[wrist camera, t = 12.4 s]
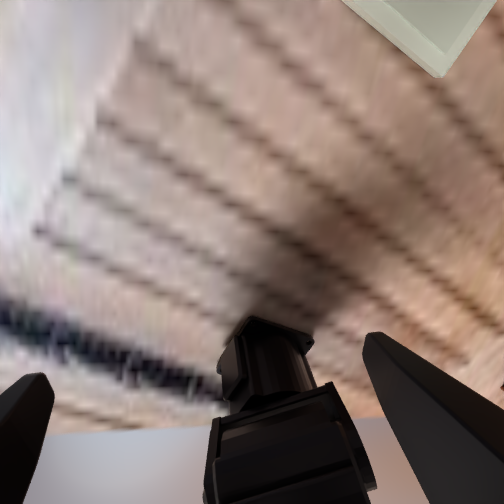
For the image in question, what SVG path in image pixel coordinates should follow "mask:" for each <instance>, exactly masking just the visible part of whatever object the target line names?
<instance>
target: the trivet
mask: <svg viewBox="0 0 504 504" xmlns="http://www.w3.org/2000/svg"><path fill="white" fill-rule="evenodd" d="M341 1H342V2H344V3H345V4H346V5H347V6H348V7H350V8H351V9H352V10H353V11H355V12H356V13H357V14H358V15H359V16H361V17H362V18H363V19H364V20H365V21H367V22H368V23H369V24H370V25H371V26H373V27H374V28H375V29H376V30H377V31H379V32H380V33H381V34H382V35H383V36H385V37H386V38H387V39H388V40H389V41H391V42H392V43H393V44H394V45H395V46H397V47H398V48H399V49H400V50H401V51H403V52H404V53H405V54H406V55H407V56H409V57H410V58H411V59H412V60H413V61H415V62H416V63H417V64H418V65H419V66H421V67H422V68H423V69H424V70H425V71H427V72H428V73H429V74H430V75H431V76H433V77H434V78H441V77H444V76H445V74H446V73H447V71H448V70H449V69H450V67H451V66H452V64H453V63H454V61H455V60H456V58H457V57H458V56H459V54H460V53H461V51H462V50H463V48H464V47H465V46H466V44H467V43H468V41H469V40H470V38H471V37H472V36H473V34H474V33H475V31H476V30H477V28H478V27H479V25H480V24H481V23H482V21H483V20H484V18H485V17H486V15H487V14H488V13H489V11H490V10H491V8H492V7H493V5H494V4H495V2H496V1H497V0H341Z"/></svg>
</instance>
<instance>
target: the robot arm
mask: <svg viewBox="0 0 504 504" xmlns="http://www.w3.org/2000/svg"><path fill="white" fill-rule="evenodd" d="M251 322H255V323H253V324H252V323H251ZM307 341H308V342H307ZM314 342H315V341H314V339H313V337H312V336H311V335H308V334H305V333H302V332H299V331H296V330H293V329H290V328H287V327H284V326H282V325H279V324H276V323H273V322H270V321H267V320H264V319H261V318H258V317H255V316H251V317H249V318H248V319H247V320H246V322H245V323H244V325H243V326H242V328H241V329H240V331H239V332H238V334H237V335H236V336H234V337H233V338H232V340H231V341H230V343H229V345H228V346H227V348H226V349H225V351H224V352H223V354H222V355H221V357H220V359H221V360H220V362H219V363H218V365H217V367H216V368H217V373H218V374H221V375H222V389H223V398H224V400H225V401H228V402H229V411H230V415H229V416H225V417H222V418H221V417H218V418H214V419H213V420H212V428H211V431H210V438H209V445H208V453H207V460H206V467H205V475H204V491H203V503H204V504H371V502H370V500H369V497H368V494H367V492H368V491H372V490H375V489H377V484H376V480H375V476H374V473H373V470H372V467H371V465H370V461H369V459H368V456H367V453H366V451H365V448H364V446H363V443H362V441H361V439H360V436H359V434H358V432H357V429H356V427H355V425H354V423H353V421H352V419H351V417H350V415H349V413H348V411H347V409H346V408H345V406H344V404H343V402H342V400H341V398H340V396H339V394H338V392H337V390H336V388H335V386H334V384H333V382H332V381H331V382H328V383H325V385H323V386H320V387H317V385H316V382H315V380H314V377H313V374H312V372H311V369H310V366H309V364H308V361H307V359H306V356H305V355H306V354H307V352H308V351H309V350H310V348H311V347H312V346H313V345H314ZM362 356H363V361H364V363H365V366H366V369H367V371H368V374H369V376H370V379H371V382H372V384H373V387H374V389H375V392H376V395H377V397H378V400H379V402H380V405H381V407H382V410H383V412H384V414H385V416H386V418H387V420H388V422H389V424H390V426H391V428H392V430H393V432H394V434H395V436H396V438H397V440H398V442H399V444H400V446H401V448H402V450H403V452H404V453H405V456H406V457H407V460H408V461H409V463H410V465H411V467H412V469H413V471H414V473H415V475H416V477H417V479H418V481H419V483H420V485H421V487H422V489H423V491H424V493H425V495H426V497H427V499H428V501H429V503H430V504H504V410H503V409H502V408H500V407H499V406H497V405H495V404H494V403H492V402H491V401H489V400H488V399H486V398H484V397H483V396H481V395H480V394H478V393H477V392H475V391H473V390H472V389H470V388H469V387H467V386H466V385H464V384H463V383H461V382H459V381H458V380H456V379H455V378H453V377H452V376H450V375H448V374H447V373H445V372H444V371H442V370H441V369H439V368H438V367H436V366H434V365H433V364H431V363H430V362H428V361H427V360H425V359H423V358H422V357H420V356H419V355H417V354H416V353H414V352H412V351H411V350H409V349H408V348H406V347H405V346H403V345H402V344H400V343H398V342H397V341H395V340H394V339H392V338H391V337H389V336H387V335H386V334H384V333H383V332H371V333H368V334H367V335H366V337H365V342H364V347H363V352H362ZM54 399H55V395H54V391H53V389H52V387H51V385H50V383H49V381H48V379H47V377H46V375H45V374H44V373H41V372H39V373H31V374H26V375H24V376H23V377H21V378H20V379H19V380H18V381H16V382H15V383H14V384H13V385H12V386H10V387H9V388H8V389H7V390H5V391H4V392H3V393H2V394H1V395H0V504H23V501H24V499H25V496H26V493H27V491H28V488H29V485H30V483H31V480H32V477H33V474H34V472H35V469H36V466H37V463H38V460H39V457H40V453H41V450H42V446H43V442H44V438H45V434H46V431H47V427H48V423H49V419H50V416H51V412H52V408H53V404H54Z"/></svg>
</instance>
